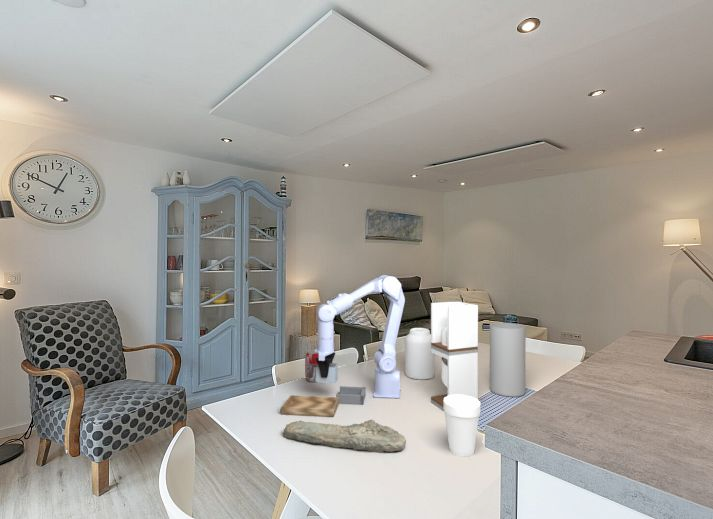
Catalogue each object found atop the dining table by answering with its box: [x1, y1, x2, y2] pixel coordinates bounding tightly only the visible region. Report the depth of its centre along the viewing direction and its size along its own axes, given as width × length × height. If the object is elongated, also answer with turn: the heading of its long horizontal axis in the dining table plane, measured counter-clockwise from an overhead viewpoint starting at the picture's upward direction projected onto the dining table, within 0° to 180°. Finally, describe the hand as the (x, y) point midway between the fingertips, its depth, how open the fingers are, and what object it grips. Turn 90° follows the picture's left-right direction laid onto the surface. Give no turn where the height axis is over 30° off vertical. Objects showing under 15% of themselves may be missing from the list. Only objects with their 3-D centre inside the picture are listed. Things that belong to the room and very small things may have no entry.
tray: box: [280, 394, 340, 418], centre depth 123 cm, size 17×10×2 cm, turn 83°
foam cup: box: [443, 395, 481, 457], centre depth 97 cm, size 10×9×13 cm
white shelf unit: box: [430, 301, 479, 413], centre depth 125 cm, size 11×11×35 cm
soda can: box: [304, 348, 319, 383], centre depth 152 cm, size 7×7×12 cm
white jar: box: [404, 327, 436, 381], centre depth 157 cm, size 12×12×20 cm
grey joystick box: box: [309, 362, 339, 384], centre depth 132 cm, size 10×4×6 cm, turn 83°
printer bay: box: [335, 385, 367, 406], centre depth 131 cm, size 10×8×3 cm
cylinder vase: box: [489, 322, 527, 398], centre depth 139 cm, size 12×12×25 cm
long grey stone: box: [283, 419, 407, 453], centre depth 102 cm, size 35×5×10 cm
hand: (325, 375), depth 132 cm, fingers closed on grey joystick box, 4 cm apart
